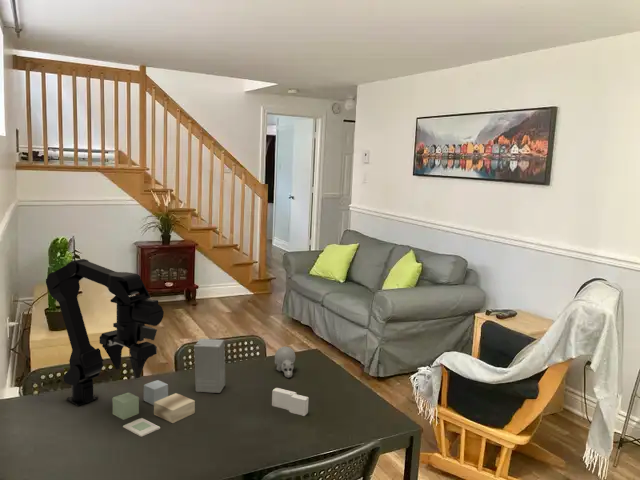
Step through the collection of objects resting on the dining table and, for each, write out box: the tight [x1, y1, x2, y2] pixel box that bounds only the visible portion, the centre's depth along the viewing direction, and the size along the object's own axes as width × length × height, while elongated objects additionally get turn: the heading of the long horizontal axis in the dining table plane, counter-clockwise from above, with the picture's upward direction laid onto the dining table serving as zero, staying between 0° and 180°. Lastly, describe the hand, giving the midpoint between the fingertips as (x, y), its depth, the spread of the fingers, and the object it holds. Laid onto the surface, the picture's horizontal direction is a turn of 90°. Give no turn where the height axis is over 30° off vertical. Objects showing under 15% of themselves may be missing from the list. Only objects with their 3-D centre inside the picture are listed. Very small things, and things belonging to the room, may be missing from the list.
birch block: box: [153, 392, 196, 424], centre depth 153 cm, size 8×8×4 cm
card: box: [122, 417, 161, 437], centre depth 144 cm, size 8×6×1 cm
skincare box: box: [193, 338, 226, 394], centre depth 169 cm, size 8×7×16 cm
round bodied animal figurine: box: [274, 346, 296, 379], centre depth 186 cm, size 7×12×8 cm, turn 13°
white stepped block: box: [271, 387, 309, 417], centre depth 158 cm, size 15×11×6 cm
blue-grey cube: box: [143, 379, 169, 406], centre depth 161 cm, size 5×5×5 cm
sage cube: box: [112, 392, 140, 420], centre depth 151 cm, size 5×5×5 cm
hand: (127, 373), depth 150 cm, fingers open, 9 cm apart
